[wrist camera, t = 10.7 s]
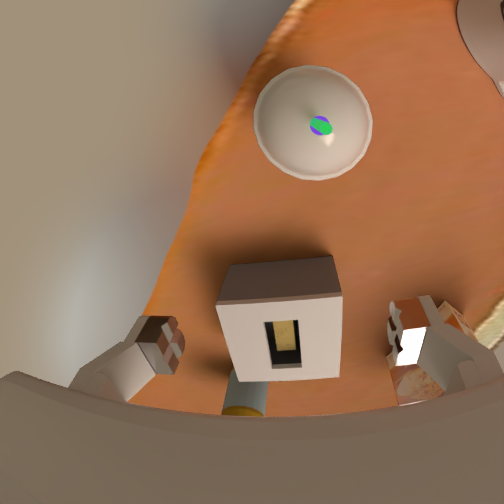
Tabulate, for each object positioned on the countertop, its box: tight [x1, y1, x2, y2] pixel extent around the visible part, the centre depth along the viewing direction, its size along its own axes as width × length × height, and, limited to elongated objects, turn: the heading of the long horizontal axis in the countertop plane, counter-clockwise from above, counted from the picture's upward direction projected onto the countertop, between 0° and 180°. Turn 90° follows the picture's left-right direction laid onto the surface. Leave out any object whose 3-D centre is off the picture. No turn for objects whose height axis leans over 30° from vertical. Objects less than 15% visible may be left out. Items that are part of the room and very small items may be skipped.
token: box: [273, 320, 296, 351], centre depth 39 cm, size 2×6×6 cm, turn 9°
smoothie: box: [253, 65, 373, 181], centre depth 22 cm, size 8×8×20 cm
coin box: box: [215, 256, 343, 382], centre depth 38 cm, size 14×14×9 cm
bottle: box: [221, 367, 268, 417], centre depth 44 cm, size 7×7×15 cm
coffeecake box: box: [386, 301, 478, 406], centre depth 35 cm, size 15×7×20 cm, turn 150°
